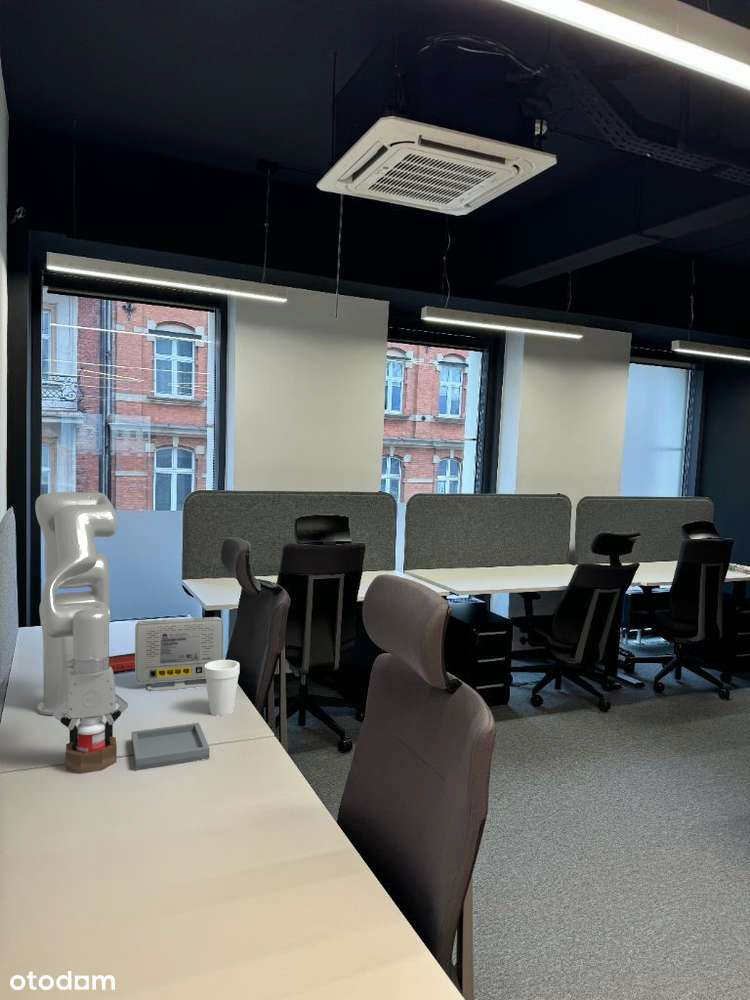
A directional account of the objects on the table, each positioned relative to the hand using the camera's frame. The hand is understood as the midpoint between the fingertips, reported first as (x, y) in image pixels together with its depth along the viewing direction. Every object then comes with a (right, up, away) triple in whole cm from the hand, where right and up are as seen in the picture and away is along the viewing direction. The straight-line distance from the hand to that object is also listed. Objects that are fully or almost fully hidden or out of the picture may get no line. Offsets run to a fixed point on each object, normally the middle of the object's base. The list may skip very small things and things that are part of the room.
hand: (91, 741), depth 149 cm
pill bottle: (0, -5, 0) cm, 5 cm away
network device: (+4, -2, +52) cm, 53 cm away
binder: (-22, -1, +68) cm, 72 cm away
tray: (+15, -5, +7) cm, 18 cm away
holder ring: (0, -5, 0) cm, 5 cm away
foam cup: (+22, -4, +32) cm, 39 cm away
